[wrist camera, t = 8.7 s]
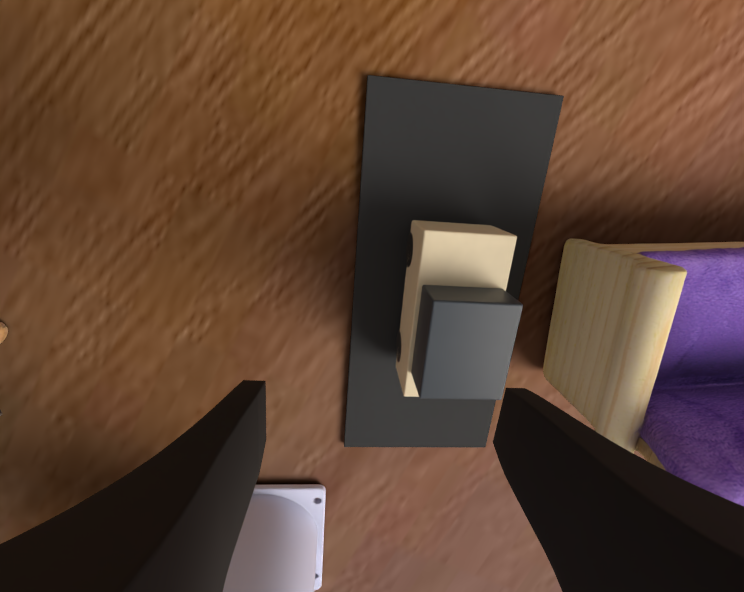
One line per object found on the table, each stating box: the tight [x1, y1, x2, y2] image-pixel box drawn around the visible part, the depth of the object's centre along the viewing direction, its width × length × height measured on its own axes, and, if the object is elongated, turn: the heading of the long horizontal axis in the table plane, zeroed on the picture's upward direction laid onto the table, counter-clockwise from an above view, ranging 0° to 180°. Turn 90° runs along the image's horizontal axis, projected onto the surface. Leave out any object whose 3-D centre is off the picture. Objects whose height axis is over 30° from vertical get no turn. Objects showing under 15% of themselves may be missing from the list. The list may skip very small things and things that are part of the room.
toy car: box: [396, 220, 523, 400], centre depth 17 cm, size 8×4×5 cm, turn 176°
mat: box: [344, 75, 564, 447], centre depth 20 cm, size 20×9×1 cm, turn 176°
